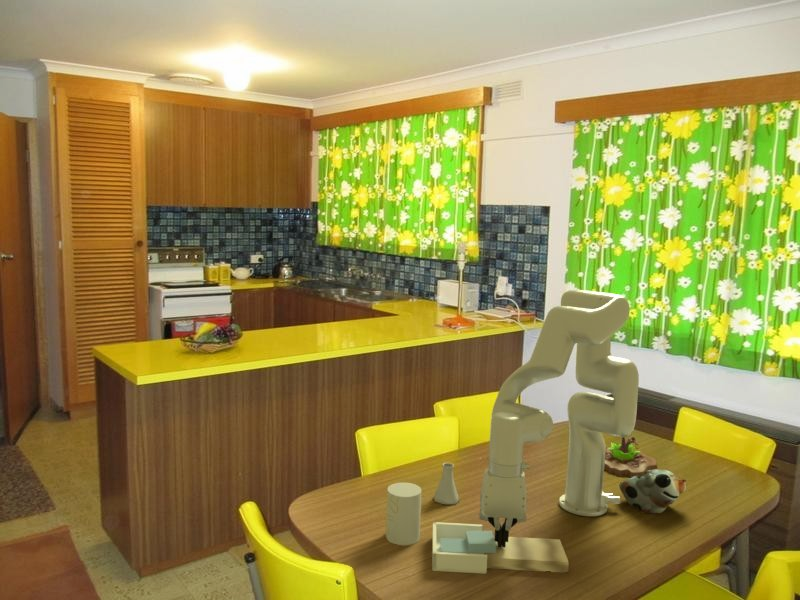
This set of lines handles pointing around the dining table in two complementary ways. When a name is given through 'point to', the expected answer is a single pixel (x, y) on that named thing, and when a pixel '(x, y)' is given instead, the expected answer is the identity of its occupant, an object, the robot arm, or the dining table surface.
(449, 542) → the tile
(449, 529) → the tray
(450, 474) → the flask
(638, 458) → the plant
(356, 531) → the dining table surface
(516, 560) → the board
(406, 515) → the grey cylinder
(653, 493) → the grey toy figure
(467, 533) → the tile
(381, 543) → the dining table surface
